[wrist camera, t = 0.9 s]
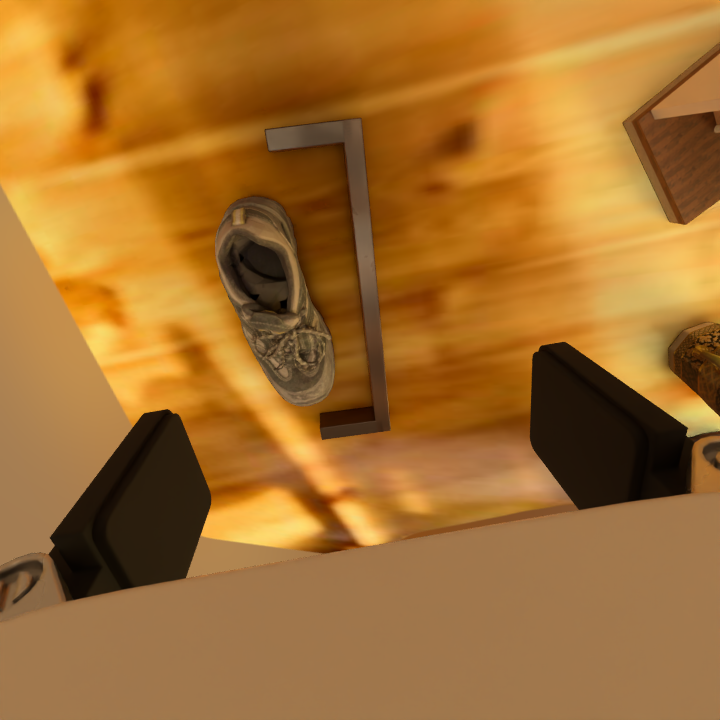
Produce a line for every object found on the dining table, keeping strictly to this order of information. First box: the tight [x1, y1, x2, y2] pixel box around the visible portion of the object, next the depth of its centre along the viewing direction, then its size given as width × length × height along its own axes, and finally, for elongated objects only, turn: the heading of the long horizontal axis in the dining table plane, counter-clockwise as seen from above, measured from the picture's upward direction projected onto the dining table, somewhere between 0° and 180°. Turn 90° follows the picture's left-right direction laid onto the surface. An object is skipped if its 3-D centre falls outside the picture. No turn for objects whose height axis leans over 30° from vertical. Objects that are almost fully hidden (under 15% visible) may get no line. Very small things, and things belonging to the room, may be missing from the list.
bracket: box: [265, 118, 391, 440], centre depth 41 cm, size 31×8×3 cm, turn 6°
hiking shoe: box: [215, 196, 335, 406], centre depth 38 cm, size 9×21×12 cm
